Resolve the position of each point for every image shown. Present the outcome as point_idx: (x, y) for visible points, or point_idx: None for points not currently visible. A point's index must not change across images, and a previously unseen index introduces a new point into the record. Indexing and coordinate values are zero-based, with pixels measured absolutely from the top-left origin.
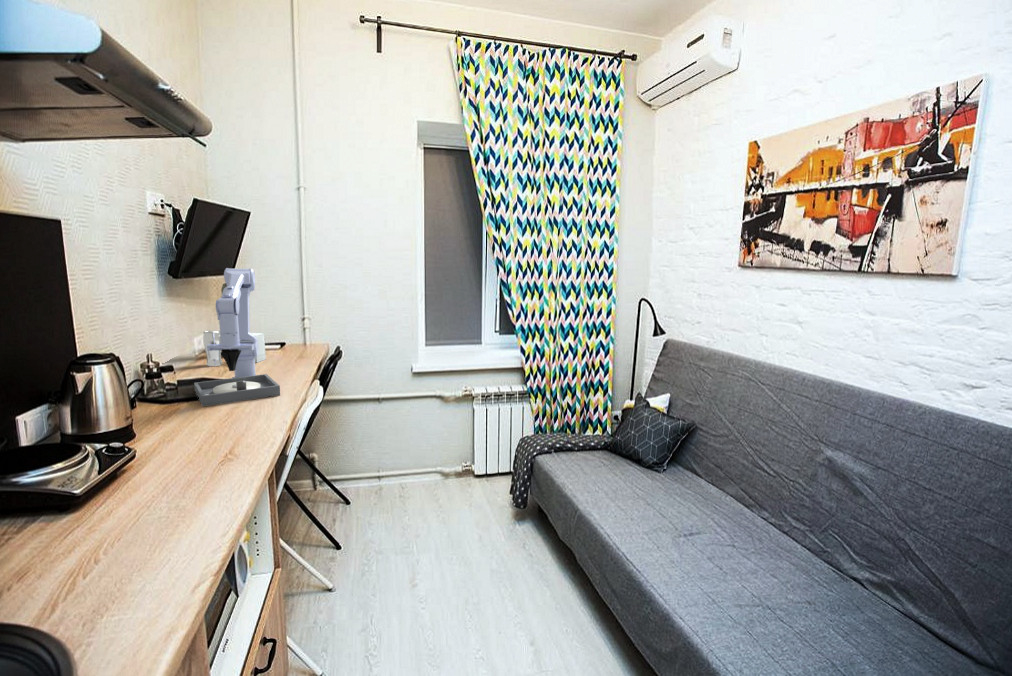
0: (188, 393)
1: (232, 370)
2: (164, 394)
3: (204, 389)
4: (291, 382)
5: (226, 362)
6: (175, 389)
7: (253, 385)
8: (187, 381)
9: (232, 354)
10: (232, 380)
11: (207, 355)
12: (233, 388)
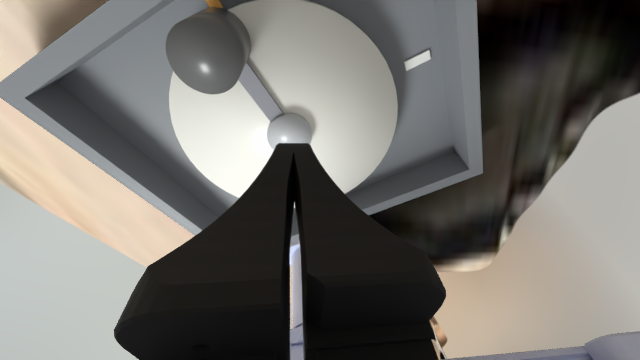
0: (483, 134)
1: (282, 143)
2: (564, 128)
3: (431, 152)
4: (154, 238)
5: (333, 184)
6: (517, 181)
7: (218, 151)
8: (475, 244)
9: (209, 266)
10: None
11: (440, 347)
12: (296, 104)
